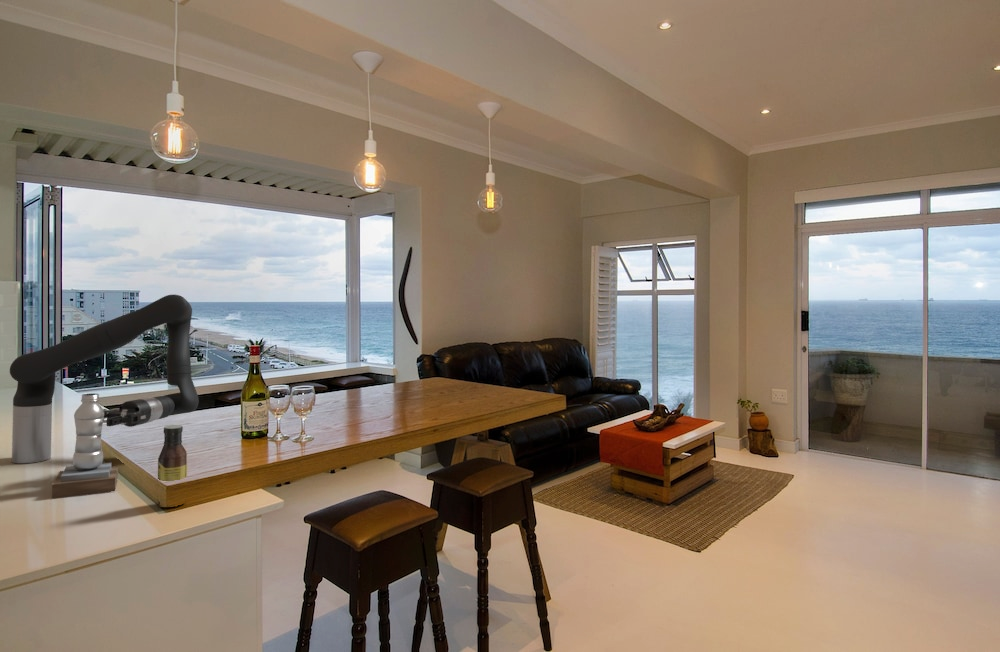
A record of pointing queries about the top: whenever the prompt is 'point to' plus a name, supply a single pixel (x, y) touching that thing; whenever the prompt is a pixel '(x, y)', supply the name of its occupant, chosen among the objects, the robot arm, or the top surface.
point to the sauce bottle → (172, 456)
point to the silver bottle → (88, 433)
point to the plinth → (85, 481)
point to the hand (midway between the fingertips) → (93, 421)
